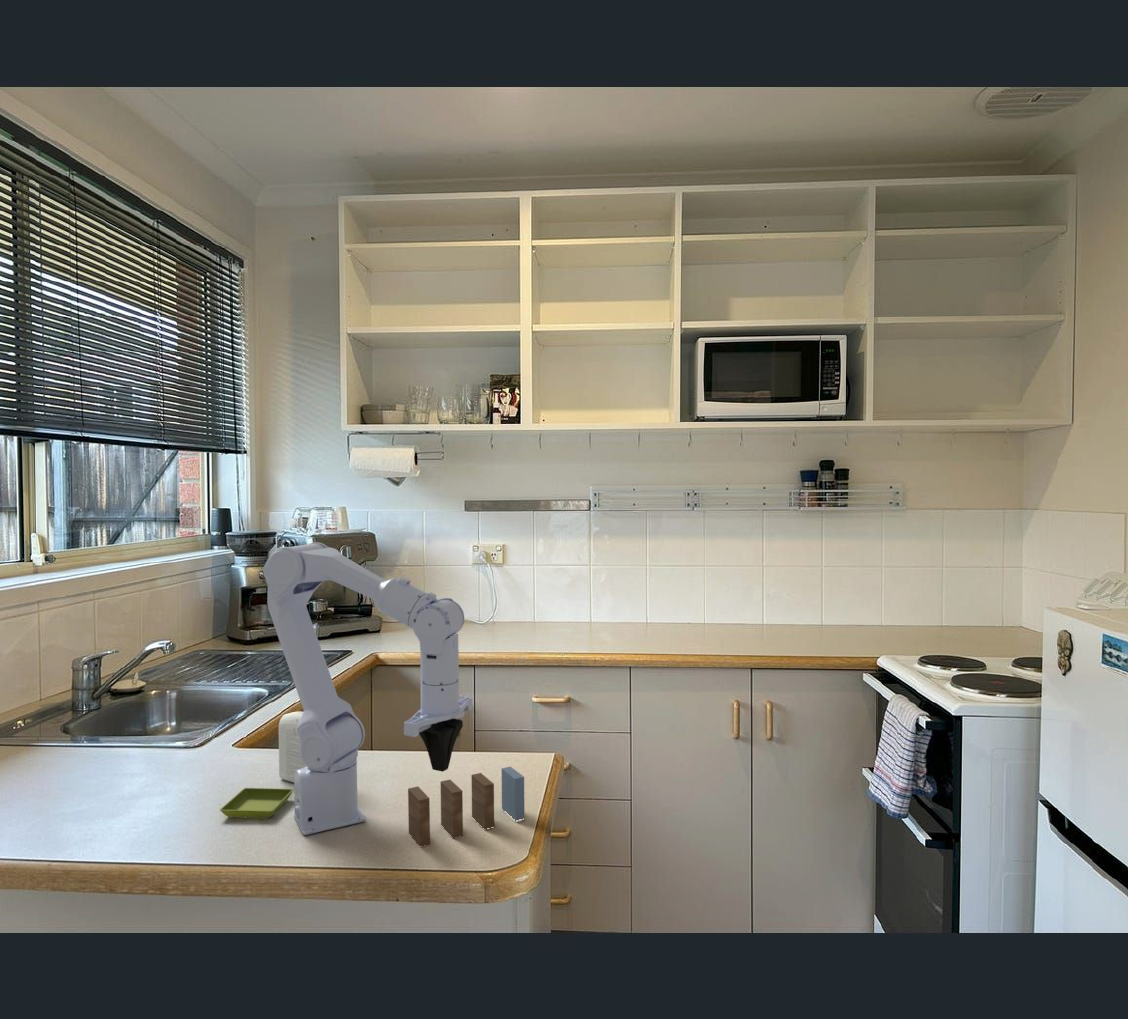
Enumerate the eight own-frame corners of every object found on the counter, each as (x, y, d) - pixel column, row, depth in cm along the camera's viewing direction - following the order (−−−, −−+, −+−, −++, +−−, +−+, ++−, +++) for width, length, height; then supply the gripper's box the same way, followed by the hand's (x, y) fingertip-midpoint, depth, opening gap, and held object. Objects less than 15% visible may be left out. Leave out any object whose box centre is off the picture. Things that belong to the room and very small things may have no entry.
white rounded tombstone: (334, 782, 135) (333, 713, 135) (316, 791, 132) (314, 720, 131) (294, 771, 140) (293, 705, 140) (275, 779, 137) (274, 711, 136)
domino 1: (419, 847, 111) (419, 800, 111) (408, 833, 116) (408, 788, 115) (430, 844, 112) (429, 798, 112) (418, 831, 116) (418, 786, 116)
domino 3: (484, 830, 117) (484, 785, 116) (471, 818, 121) (471, 774, 121) (494, 828, 117) (493, 783, 117) (481, 815, 122) (480, 772, 121)
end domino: (515, 822, 119) (515, 778, 119) (501, 810, 123) (501, 768, 123) (524, 820, 120) (524, 776, 120) (510, 808, 124) (510, 766, 124)
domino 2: (452, 838, 114) (452, 793, 114) (441, 825, 118) (440, 781, 118) (462, 836, 115) (462, 790, 114) (450, 823, 119) (450, 779, 119)
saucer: (294, 800, 129) (294, 788, 129) (272, 824, 120) (272, 811, 120) (244, 799, 129) (244, 787, 129) (218, 822, 121) (218, 810, 120)
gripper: (431, 696, 106) (432, 791, 107) (488, 672, 119) (488, 757, 120) (392, 689, 110) (393, 782, 110) (451, 667, 123) (451, 750, 123)
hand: (440, 769), depth 115 cm, fingers closed
